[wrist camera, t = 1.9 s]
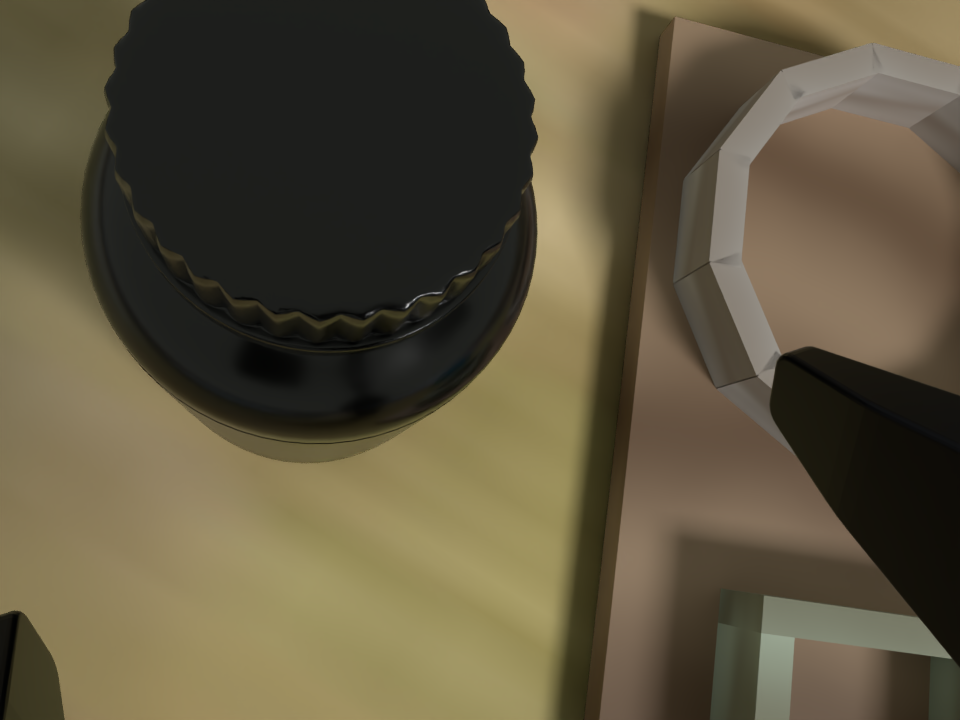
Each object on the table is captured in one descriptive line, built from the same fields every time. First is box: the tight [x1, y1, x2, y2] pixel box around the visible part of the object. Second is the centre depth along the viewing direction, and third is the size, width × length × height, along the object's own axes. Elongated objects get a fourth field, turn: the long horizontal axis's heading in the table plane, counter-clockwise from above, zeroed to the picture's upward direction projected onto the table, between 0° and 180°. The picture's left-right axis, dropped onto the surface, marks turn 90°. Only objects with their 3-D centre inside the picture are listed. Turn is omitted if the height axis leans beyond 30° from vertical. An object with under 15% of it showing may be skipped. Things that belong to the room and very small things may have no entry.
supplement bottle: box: [80, 0, 538, 463], centre depth 15 cm, size 7×7×12 cm
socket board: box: [584, 17, 960, 720], centre depth 22 cm, size 24×12×3 cm, turn 172°
